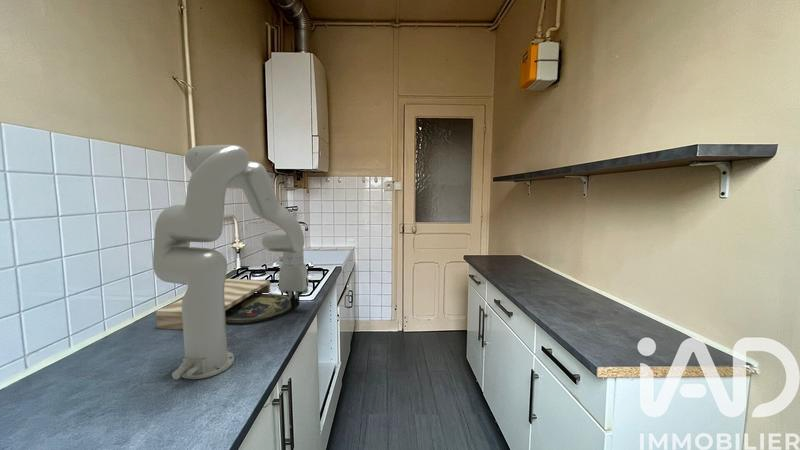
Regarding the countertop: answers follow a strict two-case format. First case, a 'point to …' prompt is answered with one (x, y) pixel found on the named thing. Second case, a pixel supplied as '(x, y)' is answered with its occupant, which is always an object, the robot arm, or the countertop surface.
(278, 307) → the decorative plate
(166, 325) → the low shelf
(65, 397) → the countertop surface
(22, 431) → the countertop surface
